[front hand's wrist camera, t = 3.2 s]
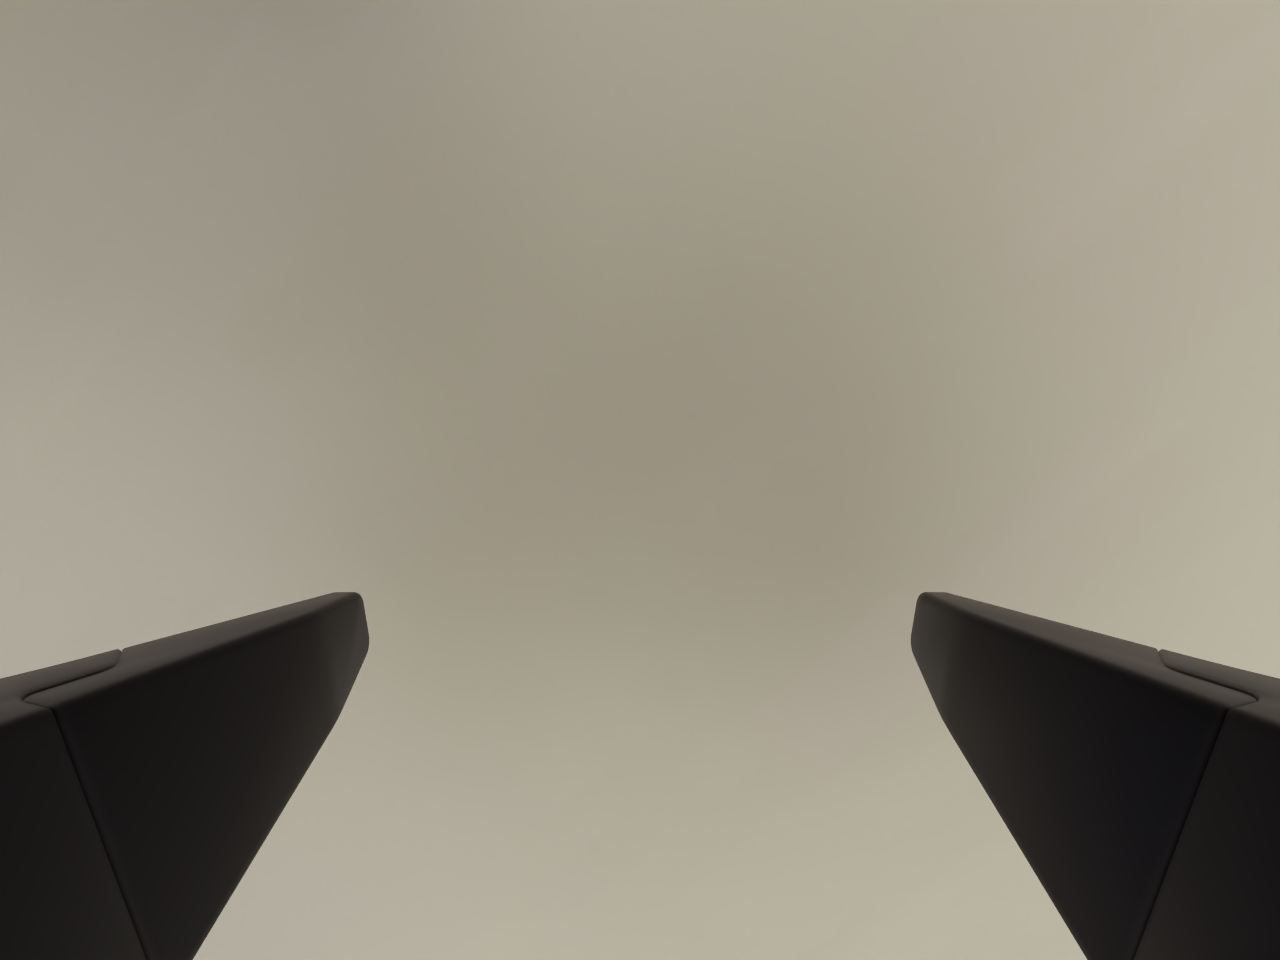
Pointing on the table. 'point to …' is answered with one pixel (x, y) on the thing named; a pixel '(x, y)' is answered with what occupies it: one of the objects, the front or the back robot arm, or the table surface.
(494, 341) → the table surface
